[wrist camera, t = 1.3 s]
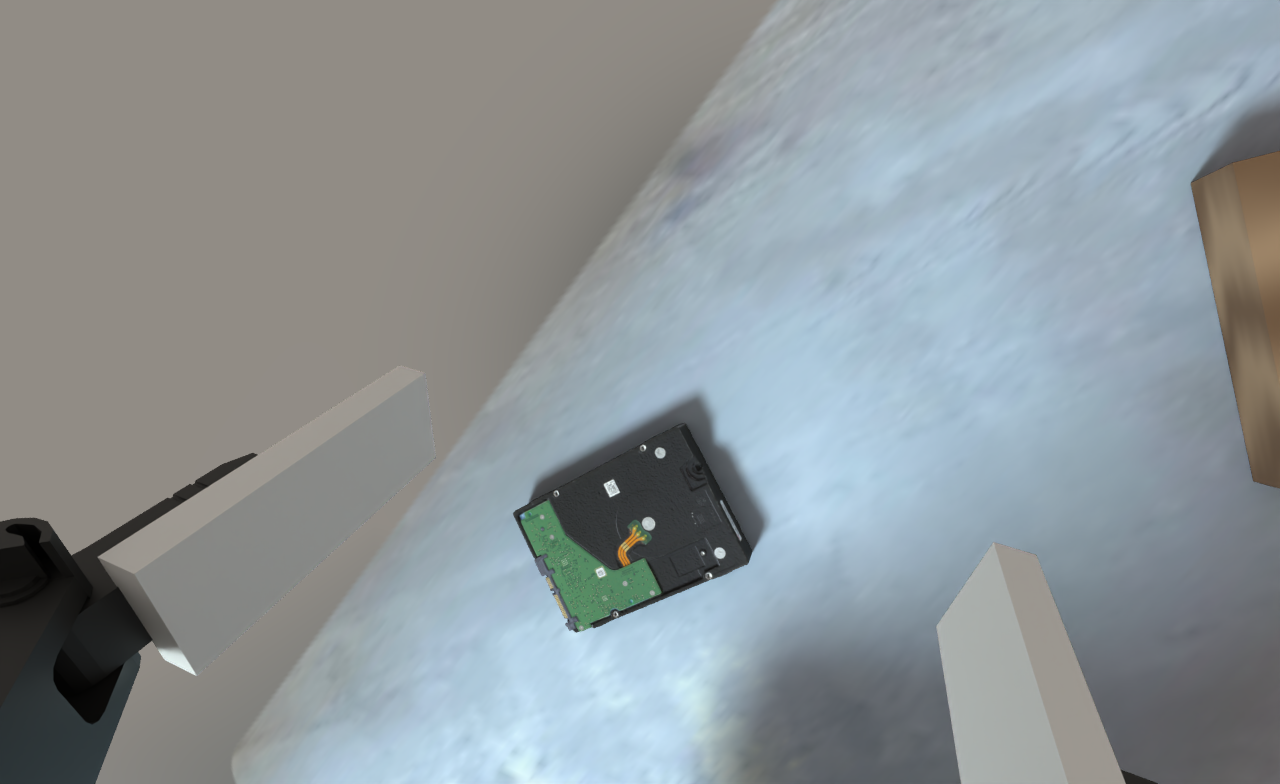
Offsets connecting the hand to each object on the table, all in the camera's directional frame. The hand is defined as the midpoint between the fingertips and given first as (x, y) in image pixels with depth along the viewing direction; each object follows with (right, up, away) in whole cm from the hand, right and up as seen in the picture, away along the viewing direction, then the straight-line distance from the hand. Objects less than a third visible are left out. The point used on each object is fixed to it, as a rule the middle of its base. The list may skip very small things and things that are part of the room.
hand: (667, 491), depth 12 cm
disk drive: (-1, -8, +27) cm, 28 cm away
